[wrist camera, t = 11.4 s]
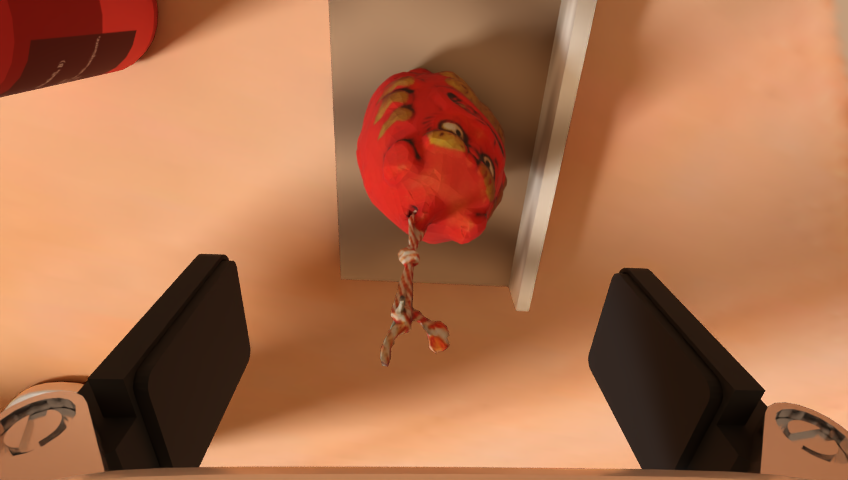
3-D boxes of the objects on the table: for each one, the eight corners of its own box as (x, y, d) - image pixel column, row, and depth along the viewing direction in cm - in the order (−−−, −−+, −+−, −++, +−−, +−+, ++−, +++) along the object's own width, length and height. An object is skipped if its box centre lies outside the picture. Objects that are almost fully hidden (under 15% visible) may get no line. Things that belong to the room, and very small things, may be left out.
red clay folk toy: (522, 131, 24) (649, 290, 10) (439, 219, 26) (456, 434, 13) (416, 33, 21) (408, 79, 8) (336, 140, 24) (231, 306, 11)
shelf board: (519, 277, 30) (531, 311, 26) (343, 269, 29) (333, 303, 26) (588, -77, 20) (621, -93, 17) (329, -95, 20) (310, -116, 16)
